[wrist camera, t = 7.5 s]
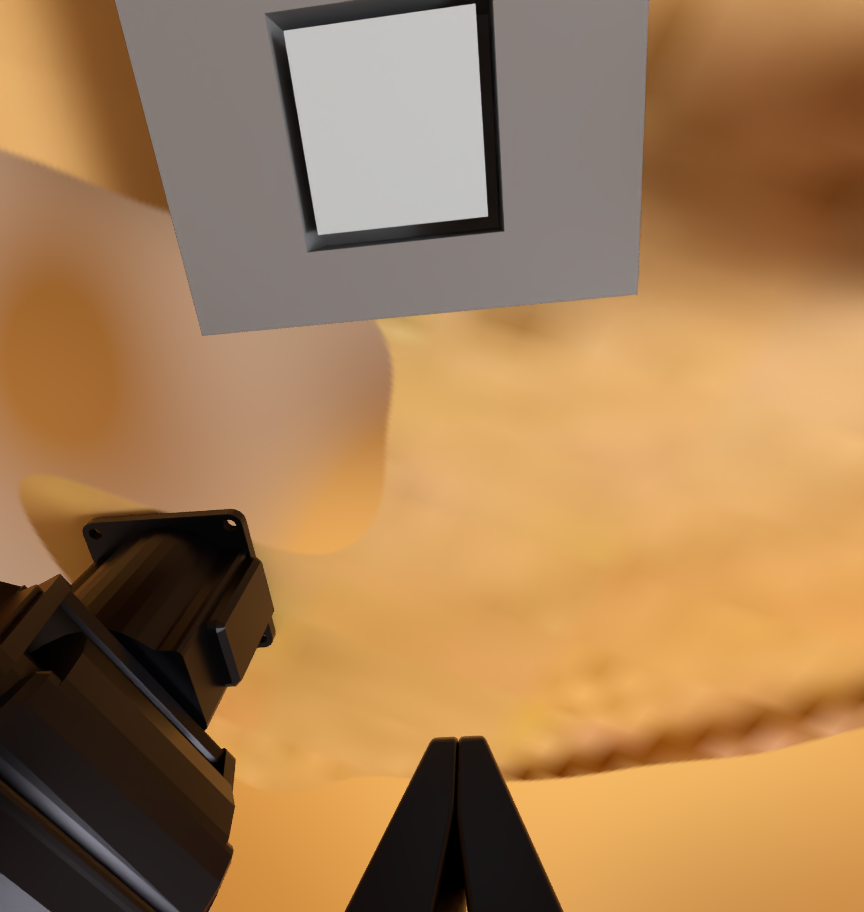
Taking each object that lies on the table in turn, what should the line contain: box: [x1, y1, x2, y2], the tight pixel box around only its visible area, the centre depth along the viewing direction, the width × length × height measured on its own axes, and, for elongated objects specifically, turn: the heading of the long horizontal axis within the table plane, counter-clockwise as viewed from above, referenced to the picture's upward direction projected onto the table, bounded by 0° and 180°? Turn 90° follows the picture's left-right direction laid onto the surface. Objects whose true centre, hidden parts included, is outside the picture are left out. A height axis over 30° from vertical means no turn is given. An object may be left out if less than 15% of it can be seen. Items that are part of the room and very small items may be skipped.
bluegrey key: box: [284, 4, 488, 235], centre depth 15 cm, size 4×4×2 cm
